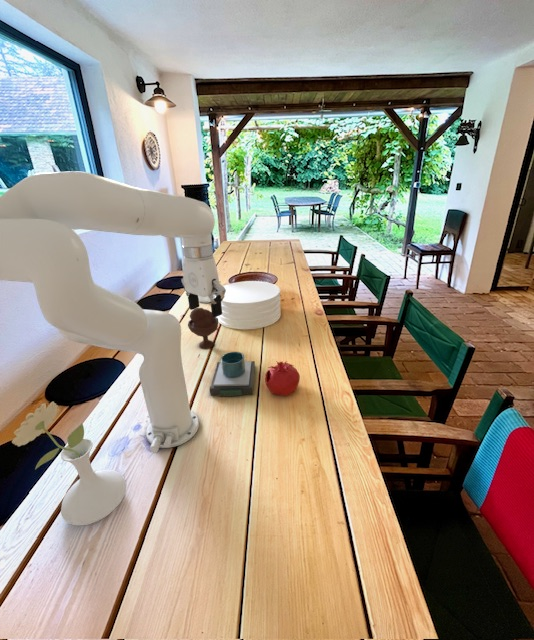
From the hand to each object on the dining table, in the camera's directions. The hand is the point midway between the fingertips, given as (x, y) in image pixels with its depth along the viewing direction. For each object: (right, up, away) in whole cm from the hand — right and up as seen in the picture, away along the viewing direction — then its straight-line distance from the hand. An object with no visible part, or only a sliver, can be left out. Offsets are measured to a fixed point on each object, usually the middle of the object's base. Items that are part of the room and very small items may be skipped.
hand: (205, 311), depth 91 cm
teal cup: (+7, -18, +6) cm, 20 cm away
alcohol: (-13, +8, +71) cm, 73 cm away
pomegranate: (+22, -22, +2) cm, 31 cm away
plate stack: (+9, 0, +51) cm, 52 cm away
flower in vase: (-16, -38, -29) cm, 51 cm away
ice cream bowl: (-5, -12, +28) cm, 31 cm away
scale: (+7, -21, +7) cm, 23 cm away
